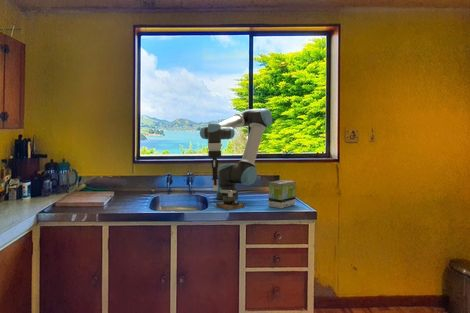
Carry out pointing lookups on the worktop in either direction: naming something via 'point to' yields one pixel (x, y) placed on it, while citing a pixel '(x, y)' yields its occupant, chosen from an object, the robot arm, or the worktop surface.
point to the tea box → (282, 193)
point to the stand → (230, 205)
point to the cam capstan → (228, 198)
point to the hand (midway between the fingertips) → (215, 190)
